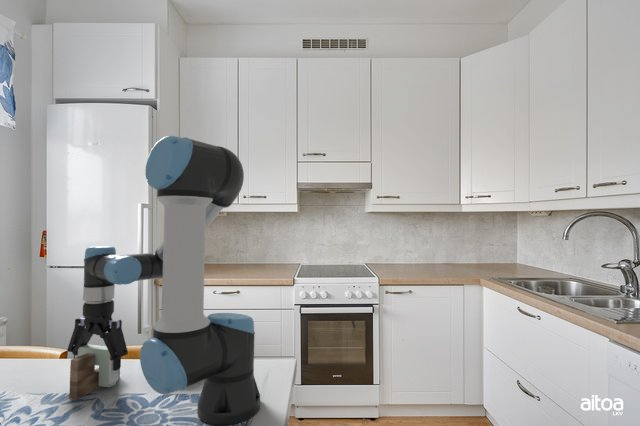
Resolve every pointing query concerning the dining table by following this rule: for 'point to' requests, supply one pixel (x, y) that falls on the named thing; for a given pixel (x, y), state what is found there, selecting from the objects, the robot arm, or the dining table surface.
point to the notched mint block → (99, 361)
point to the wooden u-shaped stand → (83, 376)
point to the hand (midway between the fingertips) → (96, 379)
